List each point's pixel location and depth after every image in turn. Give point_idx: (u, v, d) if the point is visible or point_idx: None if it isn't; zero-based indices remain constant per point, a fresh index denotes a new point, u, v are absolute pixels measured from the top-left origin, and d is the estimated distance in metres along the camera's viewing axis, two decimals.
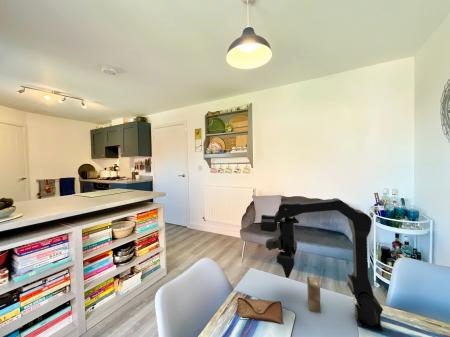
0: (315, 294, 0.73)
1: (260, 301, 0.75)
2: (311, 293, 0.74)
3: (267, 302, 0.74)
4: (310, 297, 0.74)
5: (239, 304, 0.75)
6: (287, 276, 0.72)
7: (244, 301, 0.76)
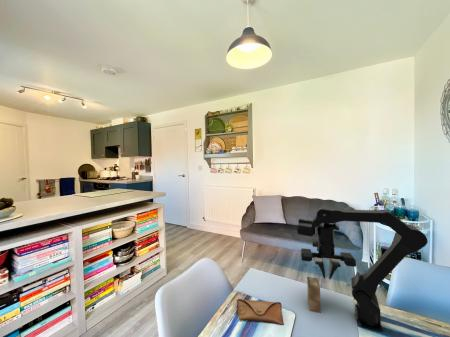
0: (315, 294, 0.73)
1: (260, 302, 0.74)
2: (311, 293, 0.74)
3: (267, 303, 0.74)
4: (310, 297, 0.74)
5: (239, 305, 0.75)
6: (323, 276, 0.75)
7: (244, 302, 0.75)
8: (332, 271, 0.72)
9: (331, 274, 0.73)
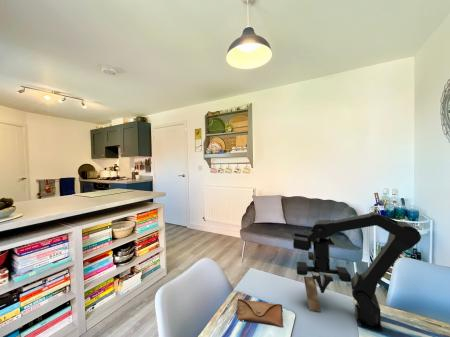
0: (312, 293, 0.74)
1: (260, 303, 0.74)
2: (308, 292, 0.74)
3: (267, 304, 0.73)
4: (308, 296, 0.74)
5: (239, 305, 0.75)
6: (320, 290, 0.76)
7: (244, 303, 0.75)
8: (325, 285, 0.73)
9: (324, 288, 0.74)
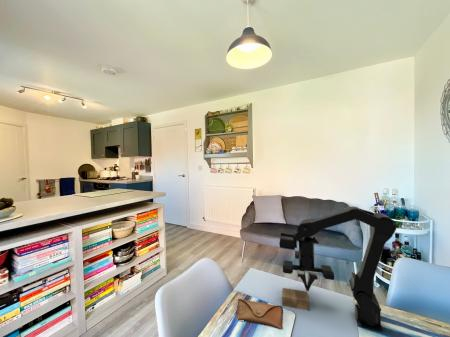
0: (290, 302, 0.76)
1: (260, 304, 0.73)
2: (290, 305, 0.76)
3: (267, 305, 0.73)
4: (294, 307, 0.76)
5: (239, 305, 0.75)
6: None
7: (244, 303, 0.75)
8: (309, 283, 0.75)
9: (309, 286, 0.76)
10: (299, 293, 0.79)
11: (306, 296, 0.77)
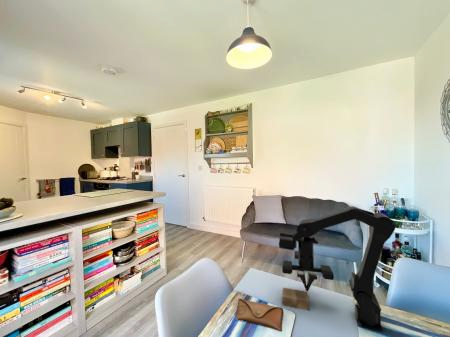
0: (290, 302, 0.76)
1: (260, 305, 0.73)
2: (290, 305, 0.76)
3: (267, 306, 0.72)
4: (294, 306, 0.76)
5: (239, 305, 0.75)
6: (305, 288, 0.77)
7: (244, 303, 0.75)
8: (309, 283, 0.75)
9: (308, 286, 0.76)
10: (299, 292, 0.79)
11: (306, 296, 0.77)
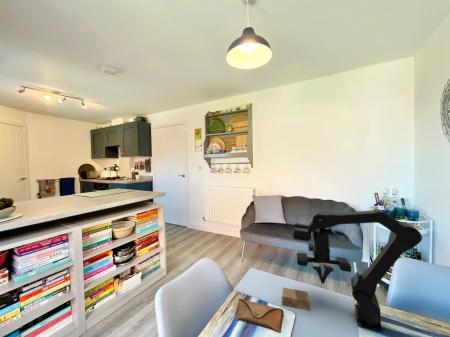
0: (290, 301, 0.76)
1: (260, 305, 0.73)
2: (290, 305, 0.77)
3: (267, 307, 0.72)
4: (294, 306, 0.76)
5: (239, 305, 0.75)
6: None
7: (244, 303, 0.75)
8: (325, 275, 0.73)
9: (324, 278, 0.74)
10: (299, 292, 0.79)
11: (306, 296, 0.77)
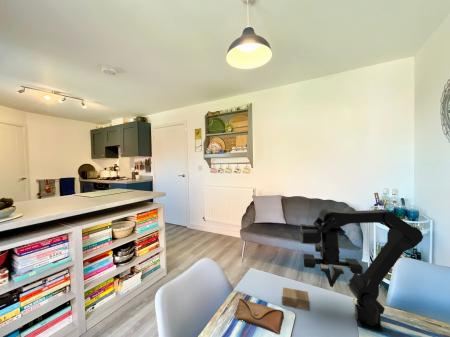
0: (290, 301, 0.77)
1: (260, 306, 0.72)
2: (290, 305, 0.77)
3: (267, 308, 0.71)
4: (294, 306, 0.76)
5: (239, 305, 0.75)
6: (329, 284, 0.70)
7: (244, 303, 0.75)
8: (334, 278, 0.68)
9: (333, 281, 0.68)
10: (299, 292, 0.79)
11: (306, 296, 0.77)
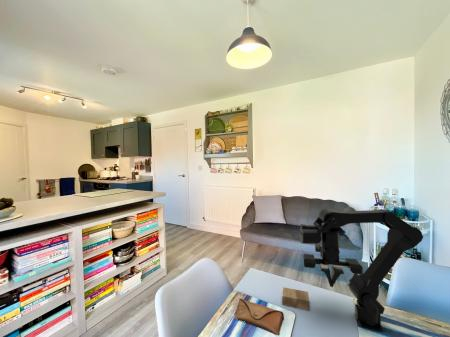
0: (290, 301, 0.77)
1: (260, 306, 0.72)
2: (290, 305, 0.77)
3: (266, 309, 0.71)
4: (294, 306, 0.76)
5: (239, 305, 0.75)
6: (329, 284, 0.70)
7: (244, 303, 0.75)
8: (334, 278, 0.68)
9: (333, 281, 0.68)
10: (299, 292, 0.79)
11: (306, 296, 0.77)
